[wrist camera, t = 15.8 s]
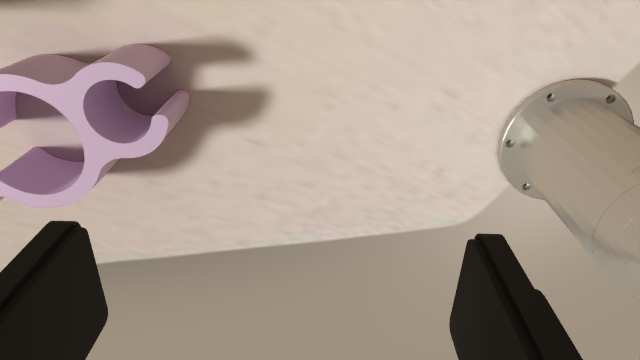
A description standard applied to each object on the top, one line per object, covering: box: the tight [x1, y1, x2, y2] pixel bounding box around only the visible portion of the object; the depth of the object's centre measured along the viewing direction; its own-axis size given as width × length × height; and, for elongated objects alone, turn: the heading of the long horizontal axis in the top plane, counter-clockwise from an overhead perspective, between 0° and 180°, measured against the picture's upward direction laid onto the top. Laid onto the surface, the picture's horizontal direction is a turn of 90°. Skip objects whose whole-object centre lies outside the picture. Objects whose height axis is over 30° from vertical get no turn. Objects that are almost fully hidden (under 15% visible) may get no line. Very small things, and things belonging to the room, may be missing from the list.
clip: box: [0, 44, 190, 208], centre depth 42 cm, size 20×12×7 cm, turn 110°
